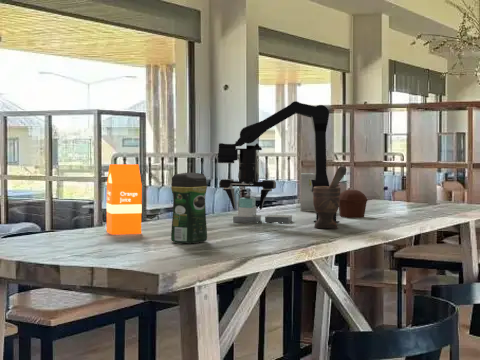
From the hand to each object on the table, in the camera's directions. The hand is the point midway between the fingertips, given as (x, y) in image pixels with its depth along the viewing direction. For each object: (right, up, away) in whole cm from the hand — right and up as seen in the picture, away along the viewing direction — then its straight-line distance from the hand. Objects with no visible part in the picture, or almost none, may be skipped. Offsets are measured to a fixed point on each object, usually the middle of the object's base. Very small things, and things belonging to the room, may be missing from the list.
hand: (247, 209), depth 268 cm
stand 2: (+11, -4, +1) cm, 12 cm away
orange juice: (-37, -6, -37) cm, 53 cm away
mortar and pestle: (+26, -6, -18) cm, 33 cm away
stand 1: (0, -4, 0) cm, 4 cm away
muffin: (+39, -4, +25) cm, 46 cm away
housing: (0, -2, 0) cm, 2 cm away
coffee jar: (-16, -7, -58) cm, 61 cm away
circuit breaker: (+26, -3, +53) cm, 59 cm away
